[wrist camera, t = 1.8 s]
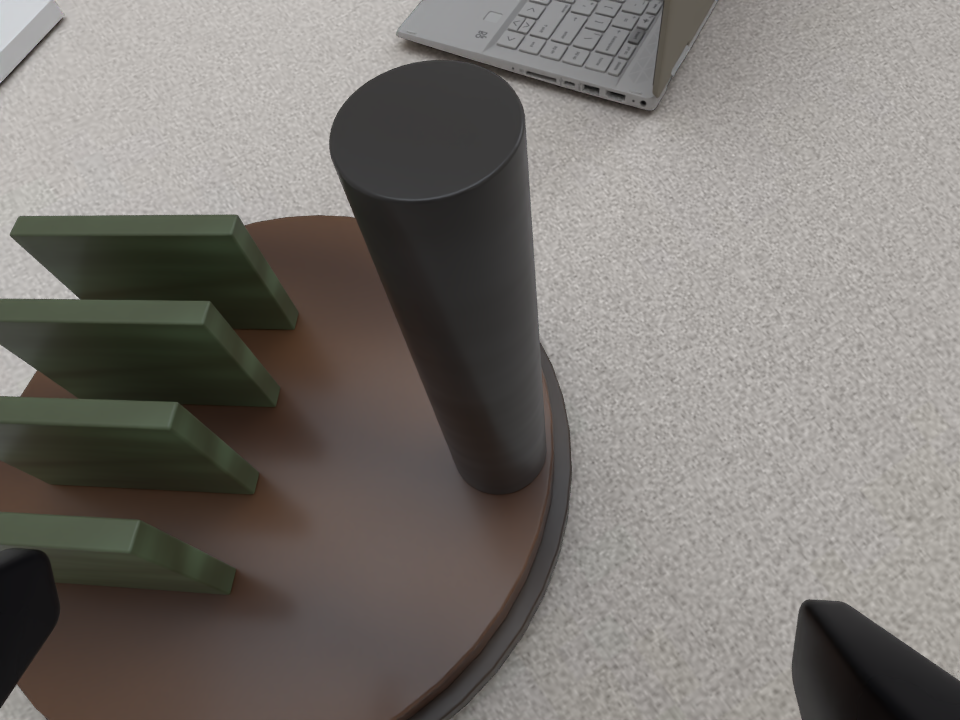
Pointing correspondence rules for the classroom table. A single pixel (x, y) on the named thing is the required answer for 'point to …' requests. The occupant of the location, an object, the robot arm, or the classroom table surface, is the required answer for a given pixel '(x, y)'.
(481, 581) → the plate holder
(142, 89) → the classroom table surface
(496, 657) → the rack stand
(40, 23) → the photo frame
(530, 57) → the laptop
